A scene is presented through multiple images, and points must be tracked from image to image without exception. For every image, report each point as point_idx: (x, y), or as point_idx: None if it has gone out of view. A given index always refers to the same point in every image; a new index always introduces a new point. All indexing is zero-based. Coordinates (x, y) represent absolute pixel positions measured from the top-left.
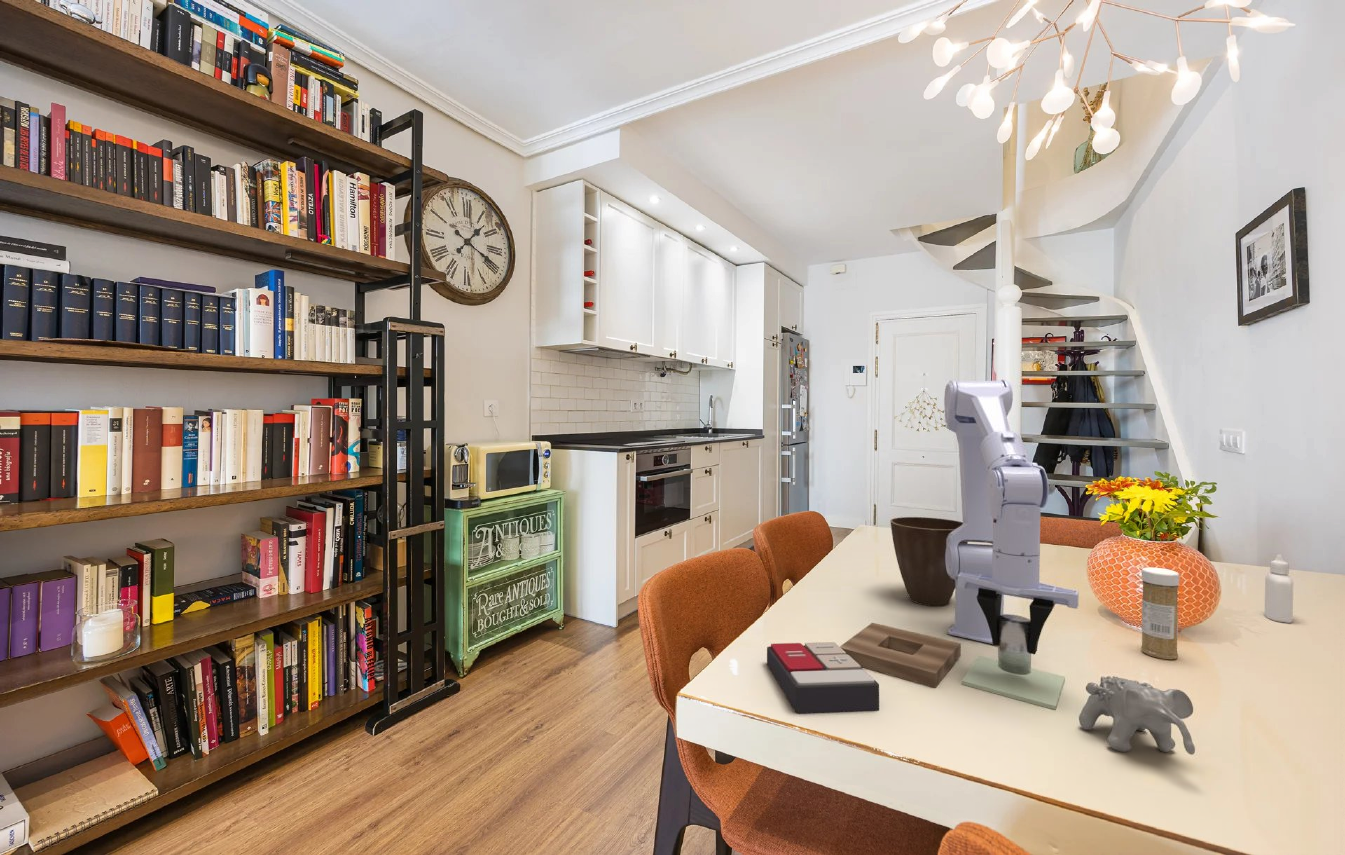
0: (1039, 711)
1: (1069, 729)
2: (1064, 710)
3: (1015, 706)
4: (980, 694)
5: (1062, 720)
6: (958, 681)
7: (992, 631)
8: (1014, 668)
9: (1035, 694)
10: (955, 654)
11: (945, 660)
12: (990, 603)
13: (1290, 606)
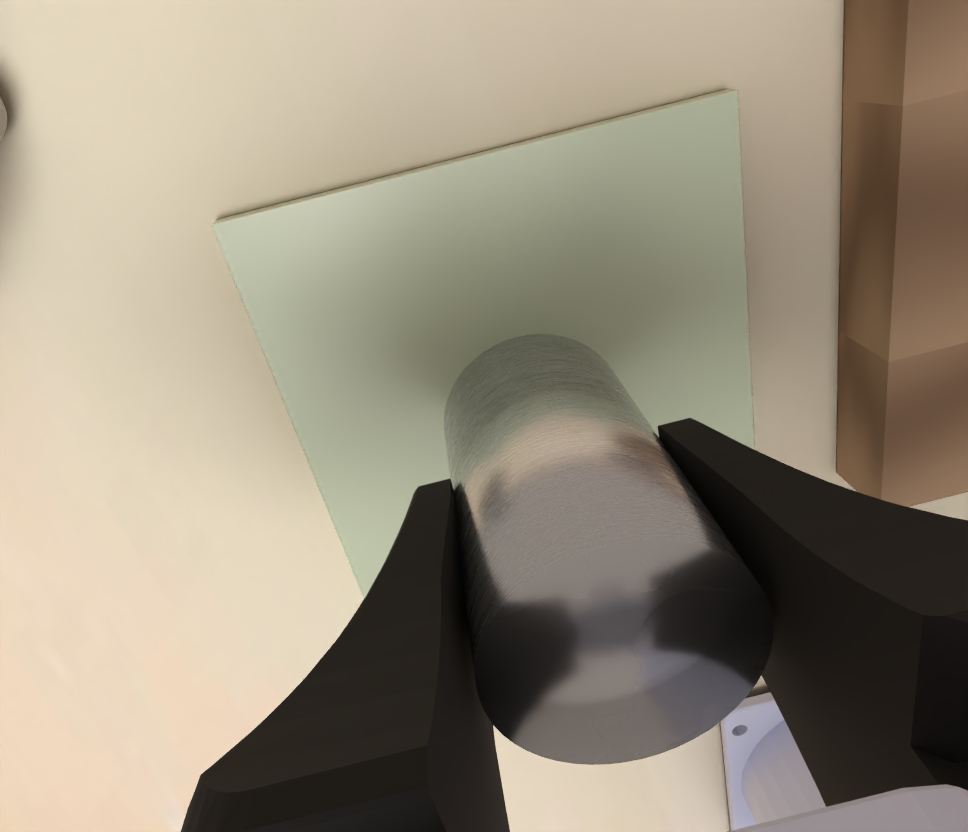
0: (259, 117)
1: (24, 7)
2: (191, 261)
3: (377, 57)
4: (591, 42)
5: (120, 109)
6: (754, 121)
7: (743, 456)
8: (505, 354)
9: (356, 285)
10: (867, 387)
11: (905, 167)
12: (962, 592)
13: None
